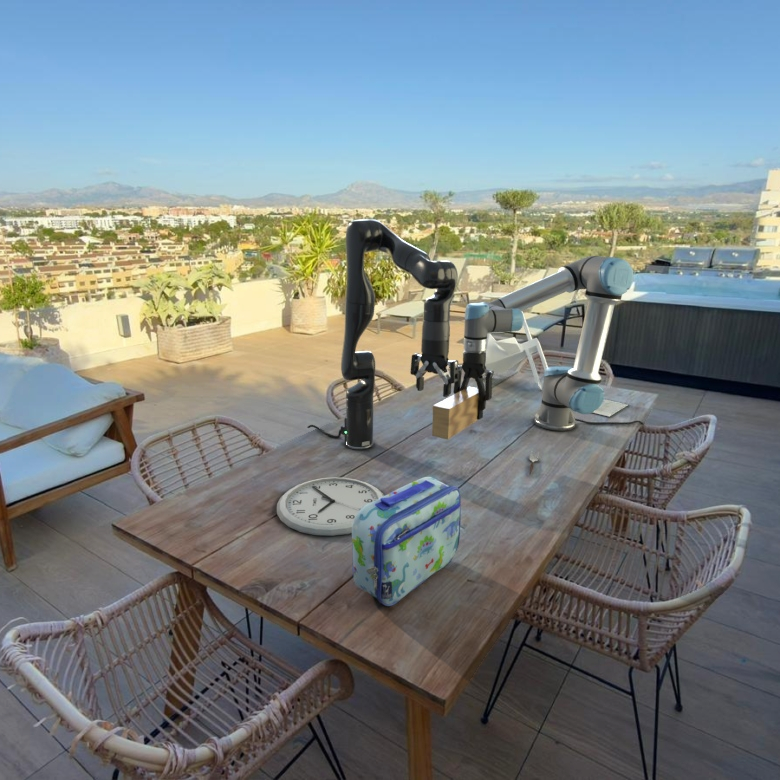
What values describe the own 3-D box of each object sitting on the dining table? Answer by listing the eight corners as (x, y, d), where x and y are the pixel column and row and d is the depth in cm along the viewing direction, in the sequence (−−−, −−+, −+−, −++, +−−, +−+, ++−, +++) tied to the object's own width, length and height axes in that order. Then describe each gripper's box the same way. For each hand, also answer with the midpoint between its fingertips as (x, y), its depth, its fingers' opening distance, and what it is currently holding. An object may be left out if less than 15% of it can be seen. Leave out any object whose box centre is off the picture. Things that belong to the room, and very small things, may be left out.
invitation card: (608, 416, 214) (573, 407, 224) (608, 416, 214) (573, 408, 224) (628, 404, 229) (594, 396, 238) (628, 405, 229) (594, 397, 238)
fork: (525, 475, 162) (525, 469, 161) (530, 455, 176) (531, 449, 176) (534, 476, 161) (534, 470, 161) (538, 456, 175) (539, 450, 175)
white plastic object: (487, 418, 267) (468, 395, 242) (469, 346, 289) (449, 318, 264) (558, 394, 255) (545, 368, 230) (533, 321, 277) (518, 289, 252)
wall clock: (392, 527, 129) (268, 531, 127) (391, 533, 130) (269, 537, 127) (383, 473, 158) (282, 475, 155) (383, 478, 158) (282, 480, 156)
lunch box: (381, 619, 101) (382, 525, 95) (345, 592, 109) (344, 503, 102) (464, 563, 119) (469, 480, 113) (428, 543, 126) (432, 464, 120)
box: (467, 413, 184) (469, 386, 181) (482, 416, 181) (484, 389, 178) (432, 435, 165) (432, 405, 162) (448, 439, 162) (449, 409, 159)
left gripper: (406, 335, 143) (404, 391, 148) (451, 342, 135) (448, 401, 140) (421, 331, 149) (419, 385, 154) (465, 338, 141) (462, 395, 146)
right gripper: (444, 348, 175) (441, 413, 182) (496, 356, 165) (491, 425, 172) (455, 344, 181) (452, 408, 188) (505, 352, 171) (501, 418, 178)
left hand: (433, 393), depth 147 cm, fingers open, 8 cm apart
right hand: (471, 416), depth 180 cm, fingers closed on box, 6 cm apart
